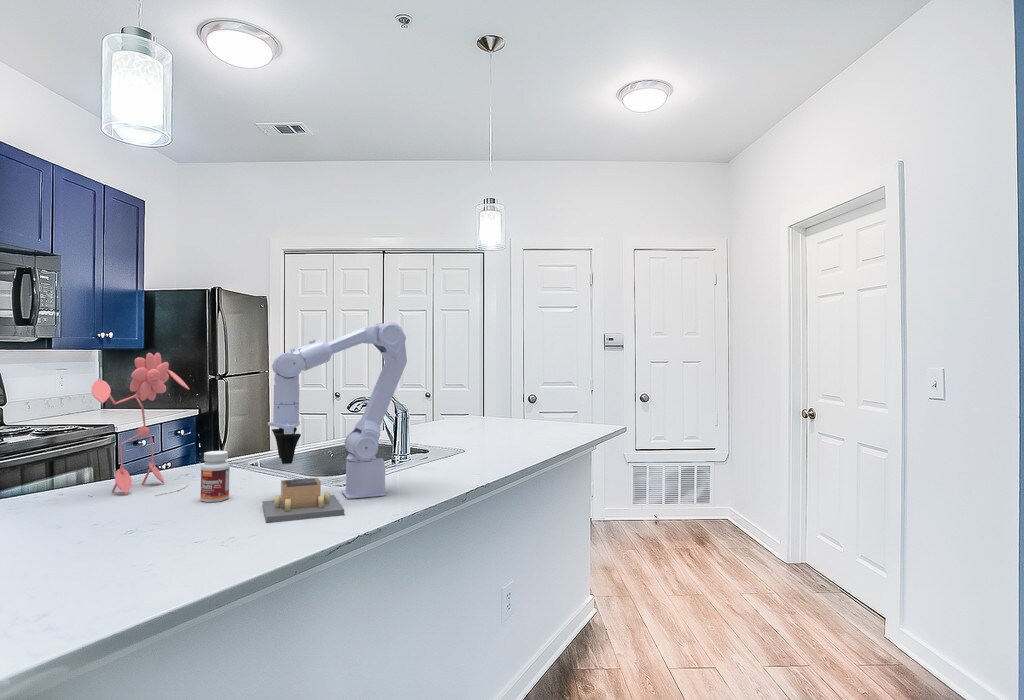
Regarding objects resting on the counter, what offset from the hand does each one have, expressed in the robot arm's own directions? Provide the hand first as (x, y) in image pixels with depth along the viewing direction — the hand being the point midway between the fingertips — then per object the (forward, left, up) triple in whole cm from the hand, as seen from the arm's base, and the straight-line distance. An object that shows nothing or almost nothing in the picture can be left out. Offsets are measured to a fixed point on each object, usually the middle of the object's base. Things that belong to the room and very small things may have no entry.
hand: (285, 460), depth 142 cm
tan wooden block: (-2, +9, -9) cm, 13 cm away
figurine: (+30, -25, -10) cm, 40 cm away
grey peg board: (-3, +9, -10) cm, 14 cm away
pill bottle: (+15, -9, -10) cm, 20 cm away
